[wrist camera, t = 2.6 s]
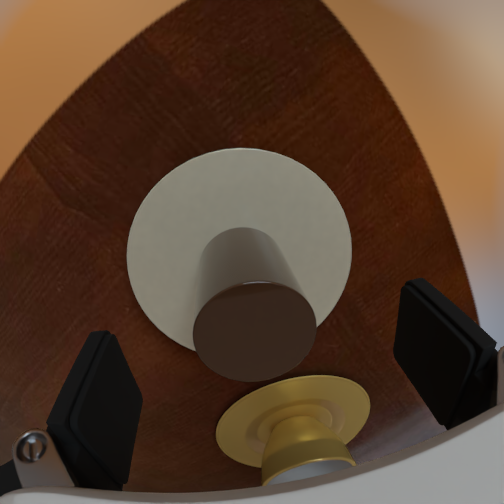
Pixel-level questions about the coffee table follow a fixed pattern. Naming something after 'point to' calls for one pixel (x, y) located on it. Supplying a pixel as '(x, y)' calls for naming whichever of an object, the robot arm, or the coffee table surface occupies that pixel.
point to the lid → (240, 259)
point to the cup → (295, 427)
